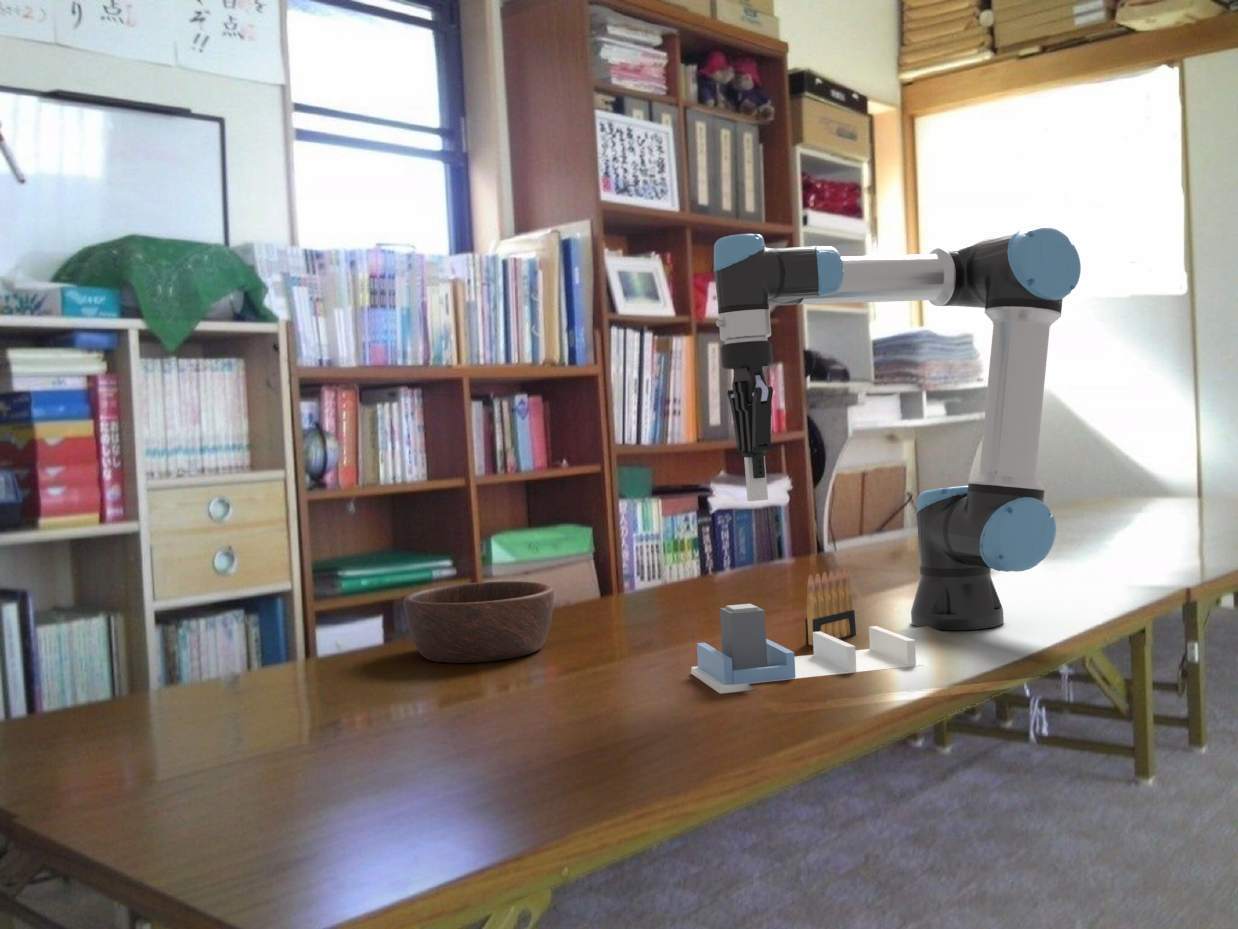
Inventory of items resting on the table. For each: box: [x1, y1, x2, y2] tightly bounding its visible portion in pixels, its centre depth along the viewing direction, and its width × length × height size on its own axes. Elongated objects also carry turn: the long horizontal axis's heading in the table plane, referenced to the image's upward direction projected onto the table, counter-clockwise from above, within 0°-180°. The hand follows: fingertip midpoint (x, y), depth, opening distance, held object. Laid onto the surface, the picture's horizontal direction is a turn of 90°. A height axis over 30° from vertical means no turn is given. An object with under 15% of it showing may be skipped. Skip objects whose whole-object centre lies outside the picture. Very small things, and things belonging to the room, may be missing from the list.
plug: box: [719, 603, 768, 670], centre depth 177 cm, size 5×5×9 cm
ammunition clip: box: [804, 567, 857, 646], centre depth 198 cm, size 11×2×12 cm, turn 132°
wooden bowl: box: [403, 580, 555, 664], centre depth 209 cm, size 25×25×10 cm
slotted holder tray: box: [690, 625, 923, 694], centre depth 180 cm, size 30×14×4 cm, turn 103°
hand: (757, 500), depth 186 cm, fingers closed
